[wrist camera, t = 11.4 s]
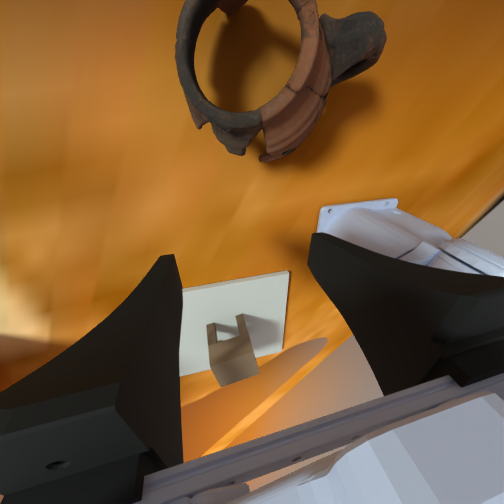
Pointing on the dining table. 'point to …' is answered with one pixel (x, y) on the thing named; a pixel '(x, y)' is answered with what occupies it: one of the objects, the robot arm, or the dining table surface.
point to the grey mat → (233, 316)
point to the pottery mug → (299, 85)
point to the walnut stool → (231, 355)
